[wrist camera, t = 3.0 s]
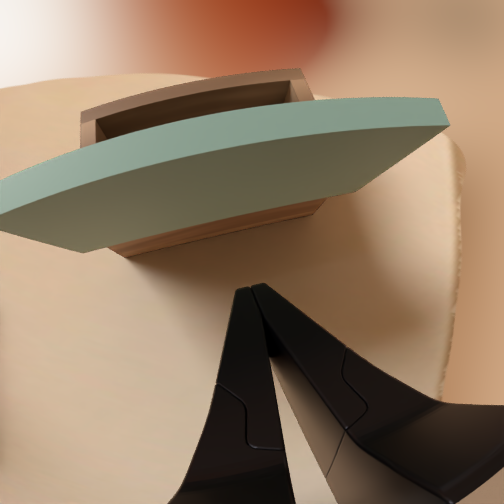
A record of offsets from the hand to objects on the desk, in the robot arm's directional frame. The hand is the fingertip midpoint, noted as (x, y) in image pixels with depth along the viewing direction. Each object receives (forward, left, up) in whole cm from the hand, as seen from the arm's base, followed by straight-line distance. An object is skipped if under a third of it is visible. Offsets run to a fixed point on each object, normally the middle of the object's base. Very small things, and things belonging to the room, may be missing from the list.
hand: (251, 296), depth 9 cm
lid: (+4, -2, -2) cm, 5 cm away
